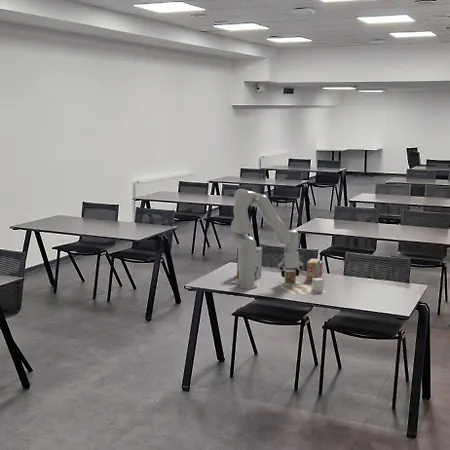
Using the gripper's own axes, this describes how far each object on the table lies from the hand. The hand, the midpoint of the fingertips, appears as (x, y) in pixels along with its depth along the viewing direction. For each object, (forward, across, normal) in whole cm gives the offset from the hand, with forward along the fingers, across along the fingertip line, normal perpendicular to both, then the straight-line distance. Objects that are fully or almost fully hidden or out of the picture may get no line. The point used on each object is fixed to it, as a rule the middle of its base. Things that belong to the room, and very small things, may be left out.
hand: (290, 276), depth 390 cm
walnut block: (+4, 0, 0) cm, 4 cm away
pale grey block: (+4, +8, -21) cm, 23 cm away
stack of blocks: (+4, +23, +10) cm, 26 cm away
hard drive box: (+5, -18, +23) cm, 30 cm away
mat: (+4, 0, 0) cm, 5 cm away
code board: (+4, +2, -16) cm, 17 cm away
